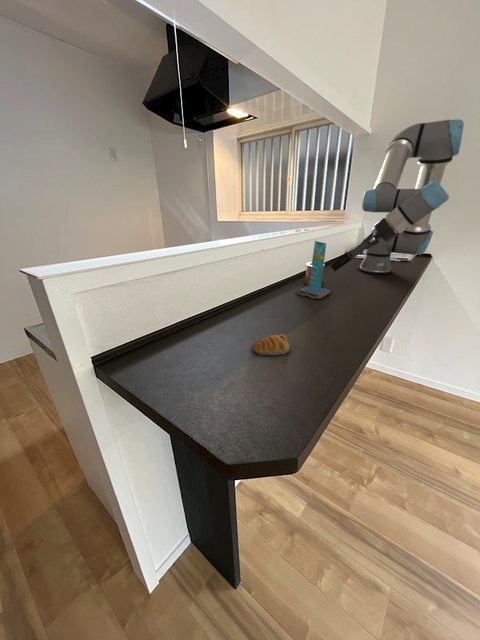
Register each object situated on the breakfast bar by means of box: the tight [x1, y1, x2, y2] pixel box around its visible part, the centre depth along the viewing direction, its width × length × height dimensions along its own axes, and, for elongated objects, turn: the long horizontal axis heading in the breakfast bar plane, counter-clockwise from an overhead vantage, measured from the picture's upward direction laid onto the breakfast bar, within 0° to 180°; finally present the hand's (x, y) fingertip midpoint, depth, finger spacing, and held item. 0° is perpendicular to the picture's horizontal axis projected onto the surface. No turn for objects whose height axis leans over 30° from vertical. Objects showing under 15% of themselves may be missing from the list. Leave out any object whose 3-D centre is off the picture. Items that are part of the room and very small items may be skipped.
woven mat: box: [297, 285, 331, 300], centre depth 110 cm, size 10×11×2 cm
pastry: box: [252, 333, 290, 356], centre depth 70 cm, size 9×7×4 cm
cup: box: [304, 261, 326, 286], centre depth 121 cm, size 8×8×9 cm
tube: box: [309, 240, 327, 291], centre depth 105 cm, size 7×5×19 cm, turn 23°
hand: (338, 264), depth 101 cm, fingers open, 13 cm apart
